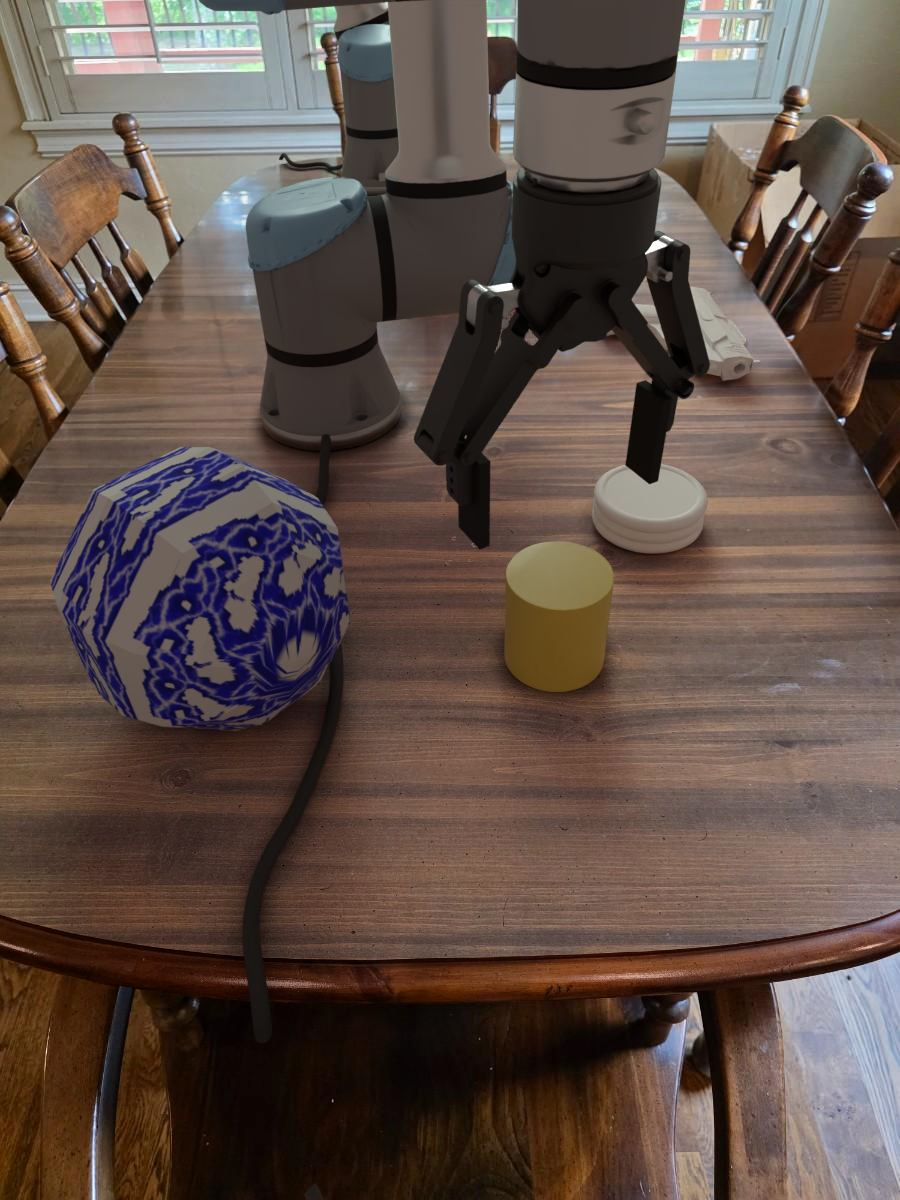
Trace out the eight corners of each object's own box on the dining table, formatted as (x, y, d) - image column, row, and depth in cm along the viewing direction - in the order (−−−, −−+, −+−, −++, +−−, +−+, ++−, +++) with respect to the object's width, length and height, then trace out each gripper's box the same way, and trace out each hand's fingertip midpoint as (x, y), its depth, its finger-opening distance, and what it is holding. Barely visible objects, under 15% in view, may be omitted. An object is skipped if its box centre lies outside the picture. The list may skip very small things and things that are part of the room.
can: (580, 706, 63) (589, 624, 58) (487, 670, 66) (486, 589, 61) (618, 640, 68) (630, 559, 63) (530, 610, 71) (533, 529, 66)
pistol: (628, 366, 96) (766, 351, 96) (592, 292, 110) (711, 279, 110) (626, 395, 98) (760, 381, 98) (591, 320, 113) (707, 307, 113)
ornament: (253, 405, 69) (437, 497, 58) (223, 623, 77) (380, 739, 66) (-3, 409, 54) (182, 535, 43) (-7, 679, 62) (149, 839, 51)
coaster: (721, 546, 76) (728, 514, 74) (613, 564, 75) (617, 532, 73) (675, 484, 84) (681, 453, 81) (576, 499, 82) (579, 468, 80)
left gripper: (401, 243, 37) (423, 601, 52) (823, 143, 46) (740, 475, 60) (331, 192, 42) (369, 533, 57) (725, 110, 50) (670, 425, 65)
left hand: (560, 504), depth 58 cm, fingers open, 13 cm apart
